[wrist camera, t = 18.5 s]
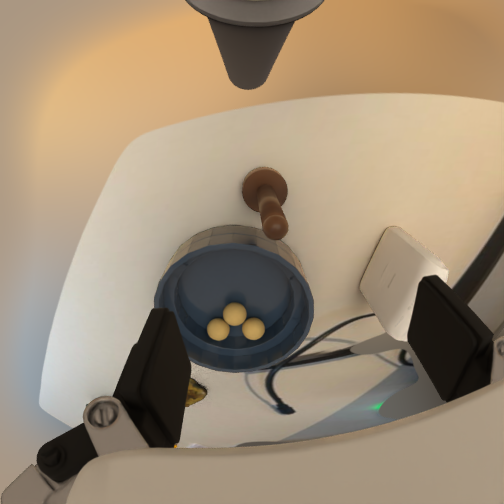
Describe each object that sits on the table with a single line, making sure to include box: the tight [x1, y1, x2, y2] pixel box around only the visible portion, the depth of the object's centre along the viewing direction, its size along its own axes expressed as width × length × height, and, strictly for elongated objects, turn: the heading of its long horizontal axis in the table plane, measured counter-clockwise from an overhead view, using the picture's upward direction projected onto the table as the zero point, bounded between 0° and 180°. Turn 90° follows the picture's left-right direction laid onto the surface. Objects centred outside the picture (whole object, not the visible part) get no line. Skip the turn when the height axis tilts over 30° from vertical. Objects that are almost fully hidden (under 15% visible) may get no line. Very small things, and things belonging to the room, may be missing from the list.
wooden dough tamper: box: [242, 167, 288, 240], centre depth 26 cm, size 5×5×14 cm
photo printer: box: [359, 226, 449, 342], centre depth 31 cm, size 10×4×12 cm, turn 162°
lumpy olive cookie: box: [185, 378, 207, 407], centre depth 44 cm, size 9×5×15 cm
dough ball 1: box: [207, 318, 230, 341], centre depth 38 cm, size 3×3×3 cm
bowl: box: [154, 225, 314, 373], centre depth 35 cm, size 18×18×6 cm
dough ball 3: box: [242, 318, 265, 340], centre depth 38 cm, size 3×3×3 cm
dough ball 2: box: [223, 302, 247, 326], centre depth 37 cm, size 3×3×3 cm
